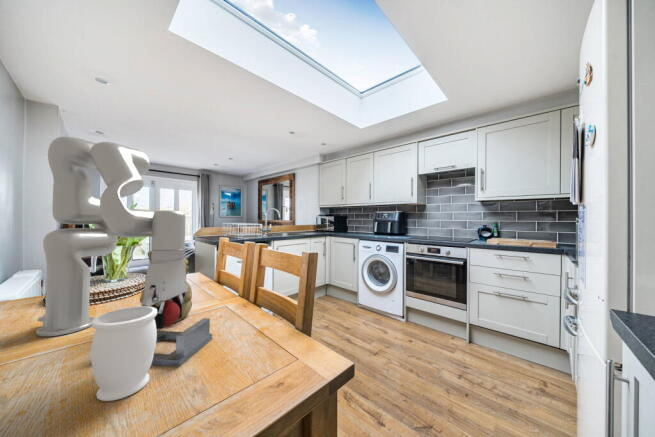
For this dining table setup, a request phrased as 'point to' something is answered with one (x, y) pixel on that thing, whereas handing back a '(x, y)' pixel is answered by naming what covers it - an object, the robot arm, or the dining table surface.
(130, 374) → the jar
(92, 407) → the dining table surface
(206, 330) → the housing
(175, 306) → the onion
